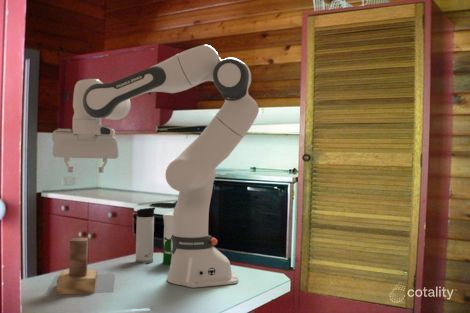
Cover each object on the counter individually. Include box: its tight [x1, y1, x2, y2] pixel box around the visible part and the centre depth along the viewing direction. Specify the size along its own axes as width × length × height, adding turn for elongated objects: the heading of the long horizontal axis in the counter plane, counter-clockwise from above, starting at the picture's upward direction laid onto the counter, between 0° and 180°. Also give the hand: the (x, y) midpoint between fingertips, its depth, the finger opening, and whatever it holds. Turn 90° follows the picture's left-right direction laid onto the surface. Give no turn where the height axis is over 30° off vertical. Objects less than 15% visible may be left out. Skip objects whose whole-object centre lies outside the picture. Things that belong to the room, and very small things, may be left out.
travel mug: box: [135, 206, 156, 264], centre depth 171 cm, size 6×7×20 cm
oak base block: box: [56, 269, 98, 295], centre depth 133 cm, size 10×10×4 cm
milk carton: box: [162, 206, 175, 265], centre depth 170 cm, size 9×9×20 cm
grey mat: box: [44, 273, 116, 296], centre depth 138 cm, size 18×20×1 cm
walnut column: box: [68, 237, 89, 277], centre depth 133 cm, size 4×4×10 cm
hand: (85, 172), depth 150 cm, fingers open, 8 cm apart
